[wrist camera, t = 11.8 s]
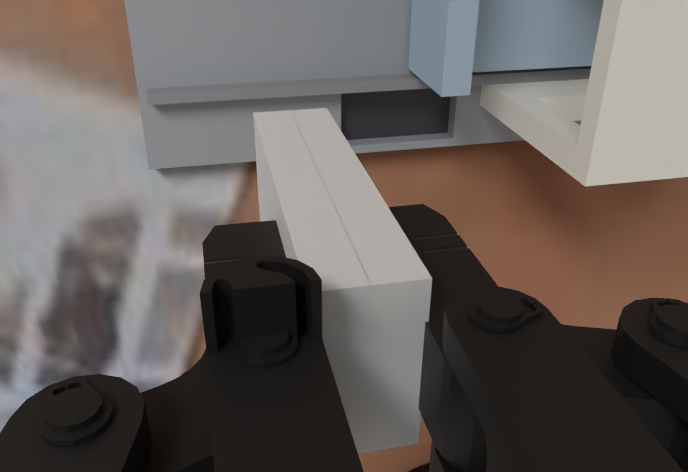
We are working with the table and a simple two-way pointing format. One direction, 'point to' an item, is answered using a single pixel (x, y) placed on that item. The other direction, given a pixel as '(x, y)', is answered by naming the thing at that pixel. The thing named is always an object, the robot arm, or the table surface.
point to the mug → (421, 468)
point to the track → (406, 85)
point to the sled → (498, 38)
